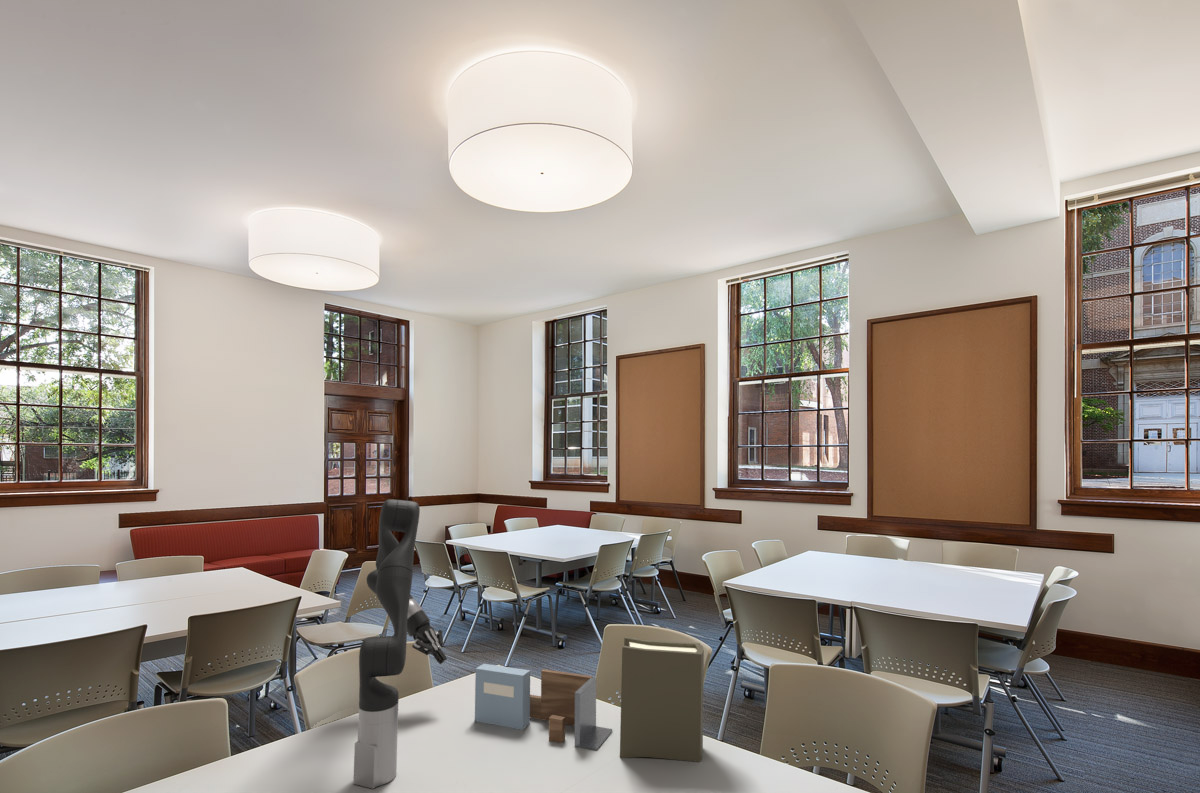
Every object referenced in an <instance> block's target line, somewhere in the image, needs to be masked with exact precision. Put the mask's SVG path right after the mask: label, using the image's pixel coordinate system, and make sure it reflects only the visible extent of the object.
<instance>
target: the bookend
mask: <svg viewBox="0 0 1200 793" xmlns="http://www.w3.org/2000/svg"><path fill="white" fill-rule="evenodd" d="M612 733H613V728H608V727H604V726H603V727H602V726H597V678H596V677H593V678H592V677H591V678H590V679H589V680H588V681H587V682H586V683H585V684H584V685H583V686H581V687H580V688H579V689H578V690H577V691H576V692H575V725H574V747H575V748H576V747H577V748H581V749H582V748H583V749H586V750H587V749H588V750H592V751H598V750H599V749H600V748H601V746H602V745H603V744H604V743H605V741H606V740H607V739H608V737H609V736H610V735H611V734H612Z"/></svg>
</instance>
